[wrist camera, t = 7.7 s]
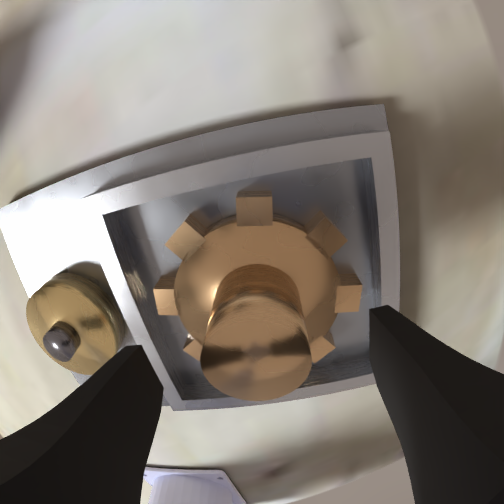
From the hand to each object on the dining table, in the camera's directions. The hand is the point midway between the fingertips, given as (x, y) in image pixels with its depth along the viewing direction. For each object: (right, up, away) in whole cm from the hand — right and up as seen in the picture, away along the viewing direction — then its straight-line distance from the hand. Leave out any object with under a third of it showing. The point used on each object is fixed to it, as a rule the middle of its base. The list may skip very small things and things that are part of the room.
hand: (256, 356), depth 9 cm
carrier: (-3, +1, +5) cm, 6 cm away
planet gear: (0, +2, +4) cm, 4 cm away
